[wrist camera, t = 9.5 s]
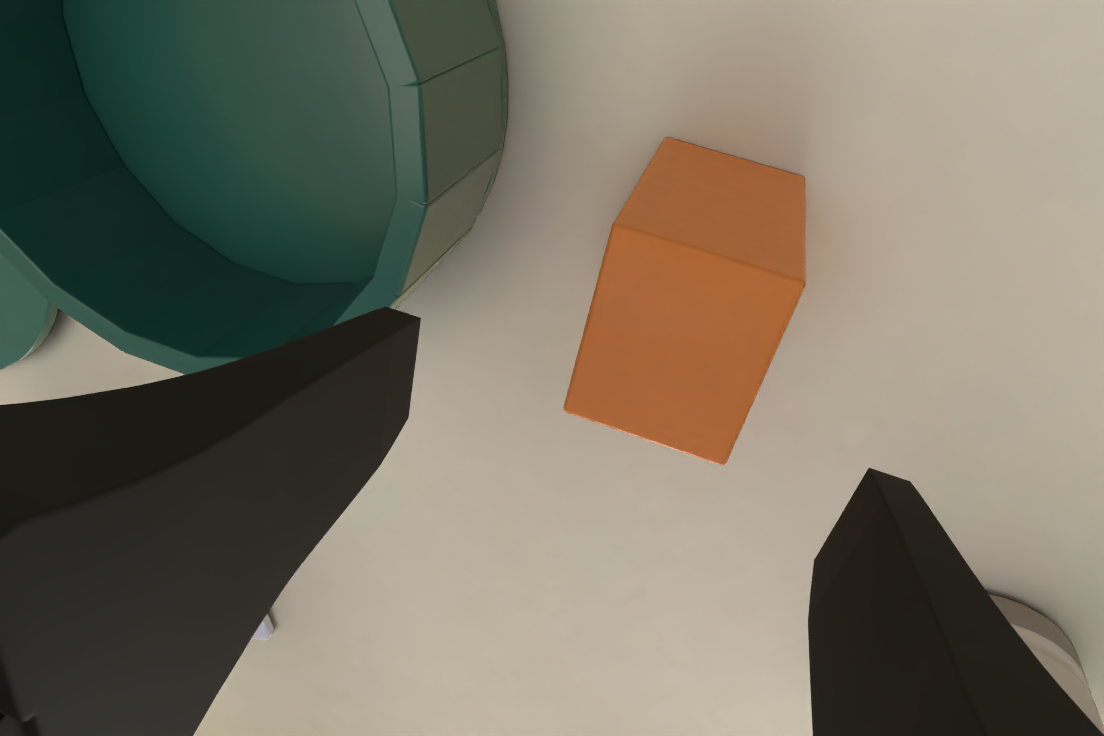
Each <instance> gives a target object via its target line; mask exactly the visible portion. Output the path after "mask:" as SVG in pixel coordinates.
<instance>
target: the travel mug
mask: <svg viewBox="0 0 1104 736" xmlns="http://www.w3.org/2000/svg"><path fill="white" fill-rule="evenodd" d="M989 596H990V597H991V598H992V600H993V601H994V603H995V604H996V605H997V607H998V608H999V609H1000V611H1001V612H1002V613H1003V615H1004V616H1005V617H1006V619H1007V620H1008V622H1009V623H1010V624H1011V625H1012V627H1013V628H1014V629H1015V630H1016V632H1017V633H1018V634H1019V636H1020V637H1021V638H1022V639H1023V641H1024V642H1025V643H1026V645H1027V646H1028V647H1029V648H1030V650H1031V651H1032V652H1033V654H1034V655H1035V656H1036V657H1037V659H1038V660H1039V661H1040V662H1041V664H1042V665H1043V666H1044V667H1045V668H1046V670H1047V671H1048V672H1049V673H1050V674H1051V676H1052V677H1053V678H1054V679H1055V680H1056V682H1057V683H1058V684H1059V685H1060V686H1061V687H1062V689H1063V690H1064V691H1065V692H1066V693H1067V694H1068V695H1069V696H1070V697H1071V699H1072V700H1073V701H1074V702H1075V703H1076V704H1077V705H1078V706H1079V708H1080V709H1081V710H1082V711H1083V712H1084V713H1085V714H1086V715H1087V717H1088V718H1089V719H1090V720H1091V721H1092V722H1093V723H1094V724H1095V725H1096V727H1097V728H1098V729H1099V730H1100V731H1101V732H1102V733H1103V734H1104V727H1103V724H1102V721H1101V719H1100V716H1099V713H1098V710H1097V708H1096V705H1095V703H1094V701H1093V698H1092V696H1091V691H1090V688H1089V686H1088V683H1087V680H1086V677H1085V675H1084V672H1083V669H1082V666H1081V664H1080V661H1079V658H1078V656H1077V653H1076V651H1075V649H1074V646H1073V644H1072V642H1071V641H1070V640H1069V639H1068V637H1067V636H1066V635H1065V634H1064V633H1063V631H1062V630H1061V629H1060V628H1059V627H1057V626H1056V625H1055V624H1054V623H1052V622H1051V621H1050V620H1049V619H1047V618H1046V617H1045V616H1043V615H1042V614H1040V613H1038V612H1036V611H1034V610H1032V609H1031V608H1029V607H1027V606H1025V605H1023V604H1020V603H1017V602H1015V601H1012V600H1009V599H1006V598H1003V597H999V596H995V595H990V594H989Z"/></svg>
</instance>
